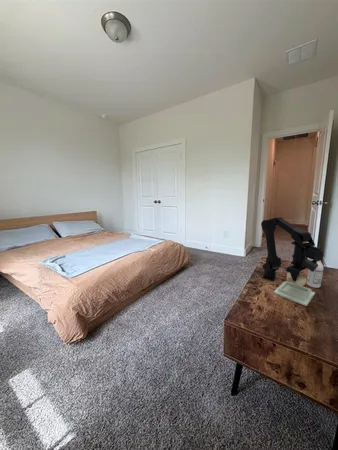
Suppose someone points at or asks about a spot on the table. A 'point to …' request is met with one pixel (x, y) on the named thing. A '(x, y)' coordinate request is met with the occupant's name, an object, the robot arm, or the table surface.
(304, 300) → the socket board
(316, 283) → the bath foam
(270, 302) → the table surface
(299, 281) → the peg
